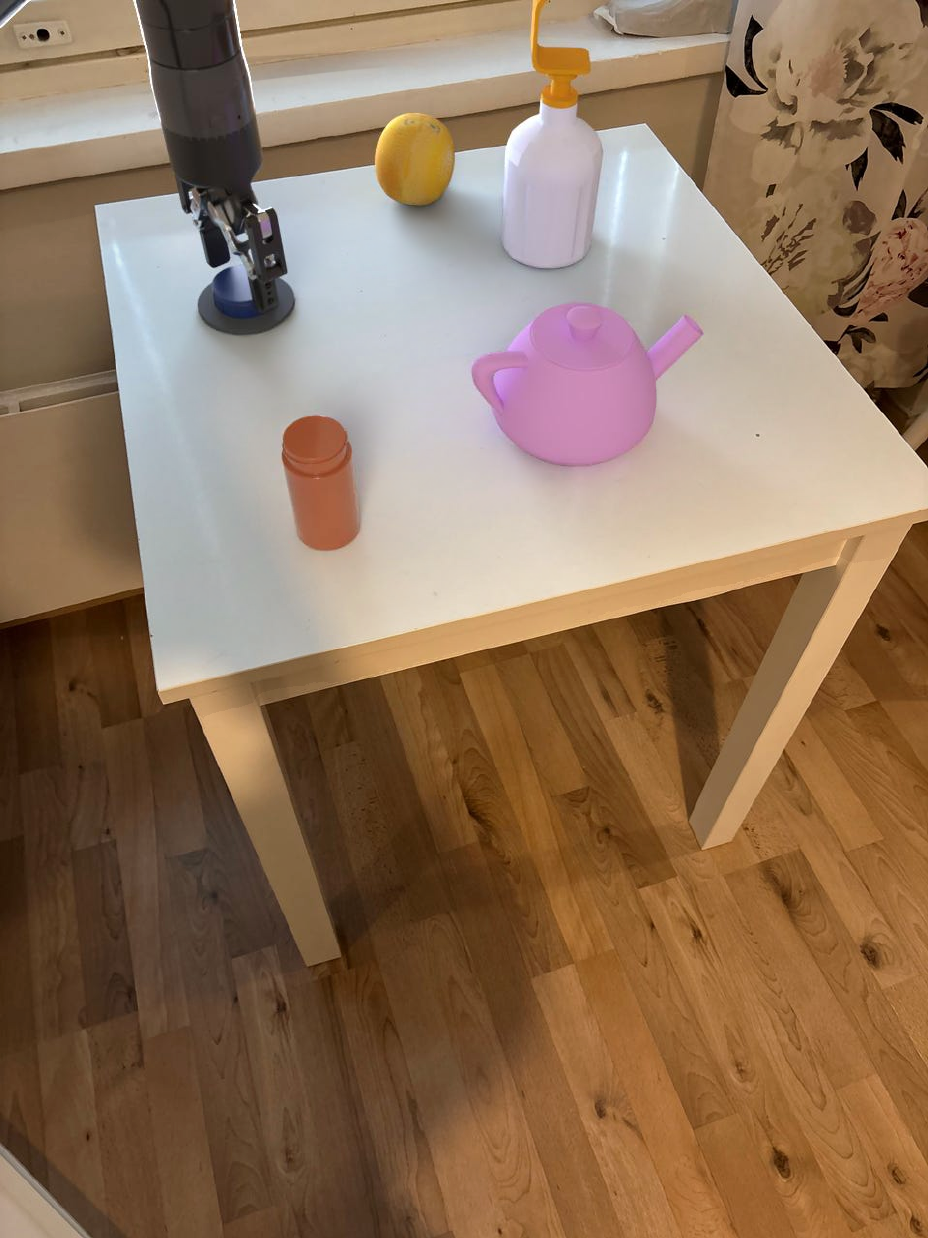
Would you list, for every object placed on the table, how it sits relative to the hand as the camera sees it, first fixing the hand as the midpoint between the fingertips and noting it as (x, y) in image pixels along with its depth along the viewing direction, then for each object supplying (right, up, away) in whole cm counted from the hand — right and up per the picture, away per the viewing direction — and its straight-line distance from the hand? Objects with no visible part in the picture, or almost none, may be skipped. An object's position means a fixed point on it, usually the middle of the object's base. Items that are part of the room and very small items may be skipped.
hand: (242, 285), depth 88 cm
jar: (+10, -24, -14) cm, 29 cm away
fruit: (+16, +14, +13) cm, 24 cm away
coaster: (0, -1, +2) cm, 2 cm away
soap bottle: (+29, +7, +8) cm, 31 cm away
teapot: (+30, -14, -6) cm, 34 cm away
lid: (0, 0, 0) cm, 0 cm away
